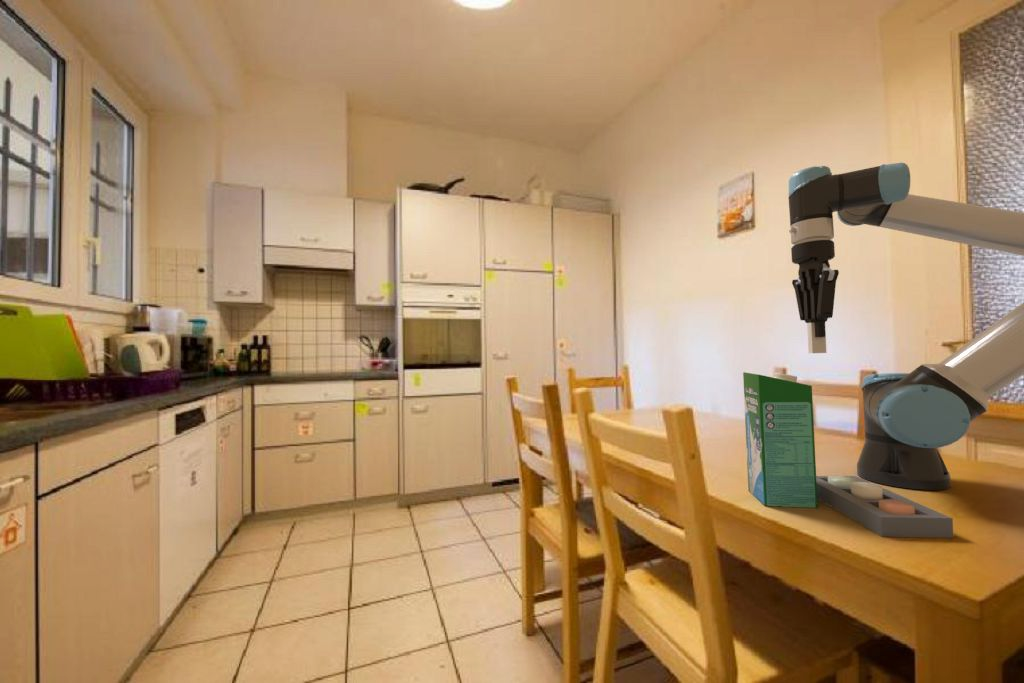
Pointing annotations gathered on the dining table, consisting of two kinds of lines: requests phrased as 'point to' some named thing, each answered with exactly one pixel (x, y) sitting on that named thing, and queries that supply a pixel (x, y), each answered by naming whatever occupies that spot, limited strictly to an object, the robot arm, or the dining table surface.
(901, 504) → the terracotta button
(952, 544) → the dining table surface
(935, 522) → the grey button tray
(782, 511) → the dining table surface
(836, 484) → the sage button
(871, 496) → the ivory button
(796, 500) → the milk carton
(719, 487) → the dining table surface
